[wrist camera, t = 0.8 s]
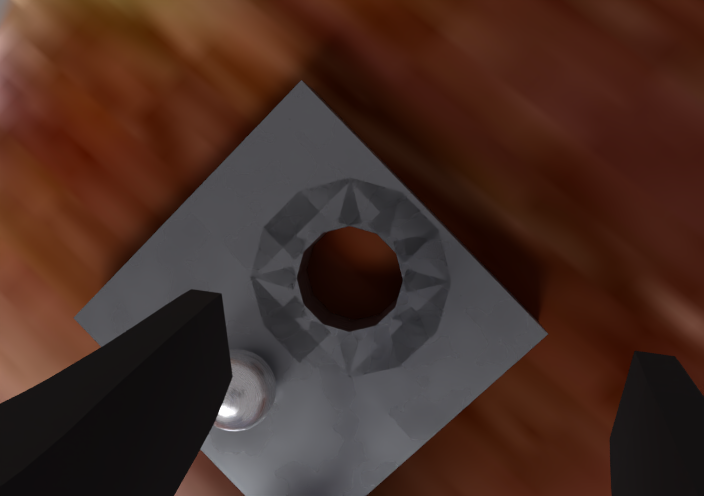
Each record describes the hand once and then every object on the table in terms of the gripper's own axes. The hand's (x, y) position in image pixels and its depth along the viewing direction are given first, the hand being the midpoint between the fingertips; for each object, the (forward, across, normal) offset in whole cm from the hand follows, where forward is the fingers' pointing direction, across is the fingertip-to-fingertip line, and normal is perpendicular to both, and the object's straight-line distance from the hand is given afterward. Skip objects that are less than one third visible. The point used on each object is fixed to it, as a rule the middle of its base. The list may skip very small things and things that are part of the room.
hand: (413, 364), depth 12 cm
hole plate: (+15, +7, +12) cm, 20 cm away
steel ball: (+10, +9, +12) cm, 18 cm away
